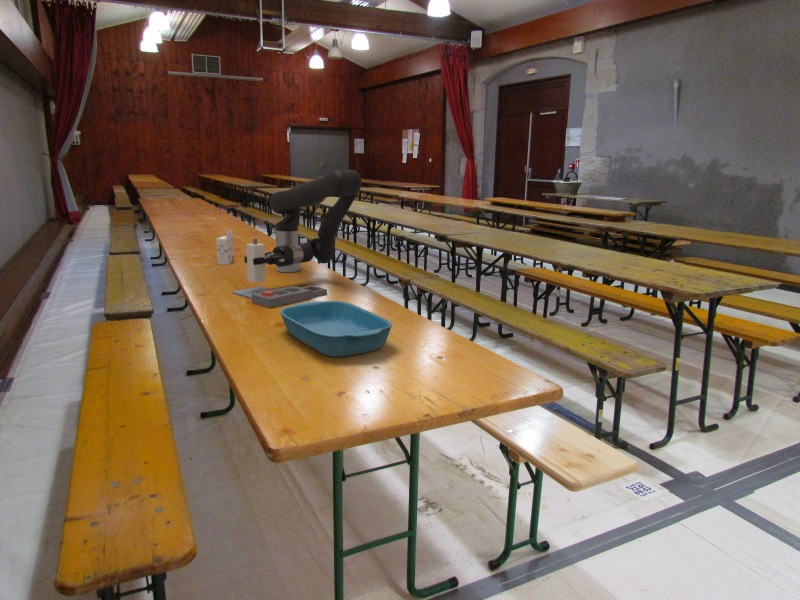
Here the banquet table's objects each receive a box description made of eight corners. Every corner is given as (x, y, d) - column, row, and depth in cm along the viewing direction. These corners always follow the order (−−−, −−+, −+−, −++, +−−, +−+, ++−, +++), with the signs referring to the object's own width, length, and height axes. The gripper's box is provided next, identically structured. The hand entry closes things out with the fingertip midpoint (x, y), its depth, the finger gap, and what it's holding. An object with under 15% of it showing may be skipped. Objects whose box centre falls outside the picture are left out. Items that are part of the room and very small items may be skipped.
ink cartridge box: (223, 261, 256) (221, 229, 252) (234, 261, 256) (233, 229, 252) (217, 265, 248) (215, 231, 244) (228, 265, 248) (226, 232, 244)
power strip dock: (310, 290, 208) (310, 279, 207) (328, 294, 202) (328, 284, 201) (251, 302, 188) (251, 291, 187) (269, 308, 183) (269, 296, 182)
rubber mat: (260, 288, 209) (259, 286, 209) (281, 293, 202) (280, 292, 202) (232, 293, 200) (232, 291, 200) (253, 299, 193) (253, 297, 192)
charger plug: (257, 279, 202) (256, 237, 199) (265, 281, 200) (264, 238, 196) (247, 280, 199) (245, 238, 195) (255, 282, 196) (253, 239, 193)
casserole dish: (269, 328, 163) (268, 304, 161) (337, 318, 175) (337, 295, 174) (329, 369, 134) (329, 340, 132) (406, 353, 146) (407, 327, 144)
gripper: (275, 243, 212) (236, 247, 199) (300, 247, 203) (261, 252, 190) (275, 262, 214) (237, 268, 201) (301, 268, 205) (262, 274, 192)
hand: (249, 260), depth 196 cm, fingers closed on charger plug, 4 cm apart
